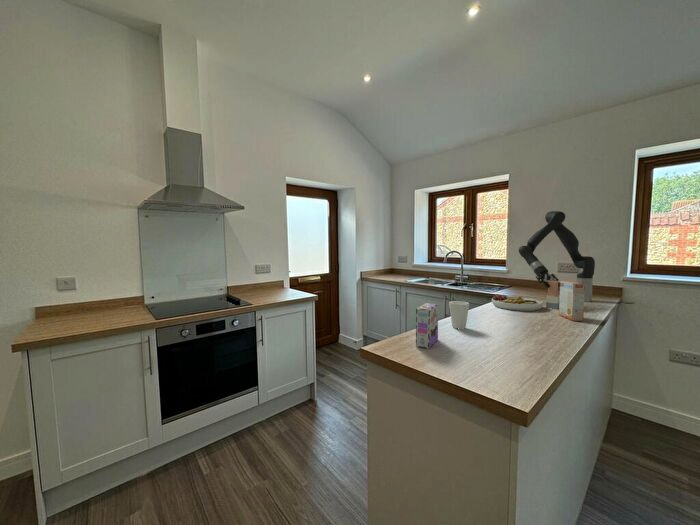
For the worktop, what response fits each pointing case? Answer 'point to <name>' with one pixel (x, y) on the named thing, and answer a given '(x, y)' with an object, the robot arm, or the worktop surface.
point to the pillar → (553, 288)
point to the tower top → (553, 299)
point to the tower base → (552, 305)
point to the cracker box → (571, 300)
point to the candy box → (426, 325)
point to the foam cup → (459, 313)
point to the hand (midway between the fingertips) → (554, 287)
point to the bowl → (516, 303)
